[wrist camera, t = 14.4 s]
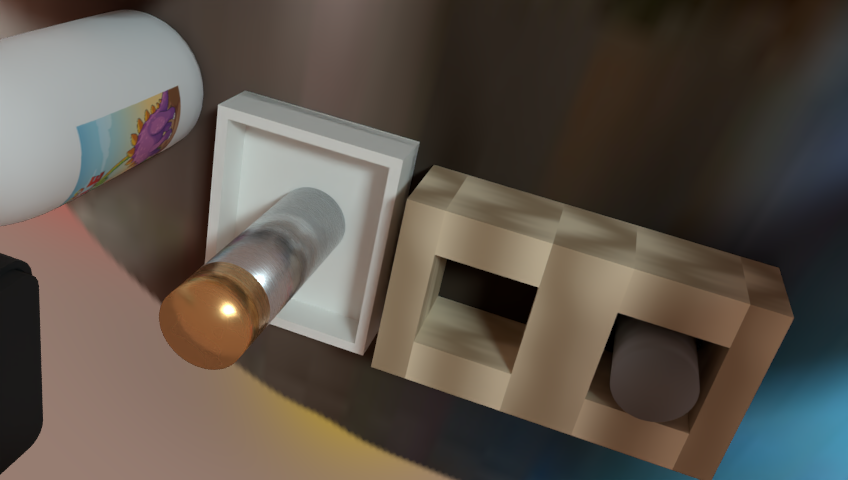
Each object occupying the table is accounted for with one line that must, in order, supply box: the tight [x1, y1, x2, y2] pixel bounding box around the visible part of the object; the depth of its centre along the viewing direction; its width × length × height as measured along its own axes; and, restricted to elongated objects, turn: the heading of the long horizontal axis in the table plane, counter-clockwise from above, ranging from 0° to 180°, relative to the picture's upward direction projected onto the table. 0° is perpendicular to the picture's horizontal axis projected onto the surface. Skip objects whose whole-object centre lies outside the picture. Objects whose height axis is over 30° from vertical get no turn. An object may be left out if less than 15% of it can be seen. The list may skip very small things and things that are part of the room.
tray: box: [205, 91, 420, 355], centre depth 43 cm, size 10×12×3 cm
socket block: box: [371, 165, 794, 480], centre depth 40 cm, size 18×10×6 cm, turn 78°
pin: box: [159, 187, 345, 370], centre depth 39 cm, size 4×4×12 cm
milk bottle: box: [0, 10, 204, 226], centre depth 35 cm, size 8×8×20 cm
